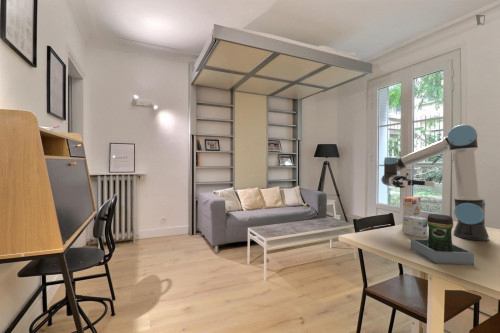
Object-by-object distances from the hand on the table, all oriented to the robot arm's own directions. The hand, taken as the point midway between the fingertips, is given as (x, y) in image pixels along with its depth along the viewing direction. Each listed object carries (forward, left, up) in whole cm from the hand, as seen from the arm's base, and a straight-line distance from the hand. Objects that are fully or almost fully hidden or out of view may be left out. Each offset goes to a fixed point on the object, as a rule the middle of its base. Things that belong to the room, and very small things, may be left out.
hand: (420, 184), depth 127 cm
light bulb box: (-8, -17, -32) cm, 38 cm away
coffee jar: (+2, +18, -31) cm, 36 cm away
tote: (+2, +18, -32) cm, 37 cm away
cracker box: (-14, -31, -32) cm, 47 cm away
